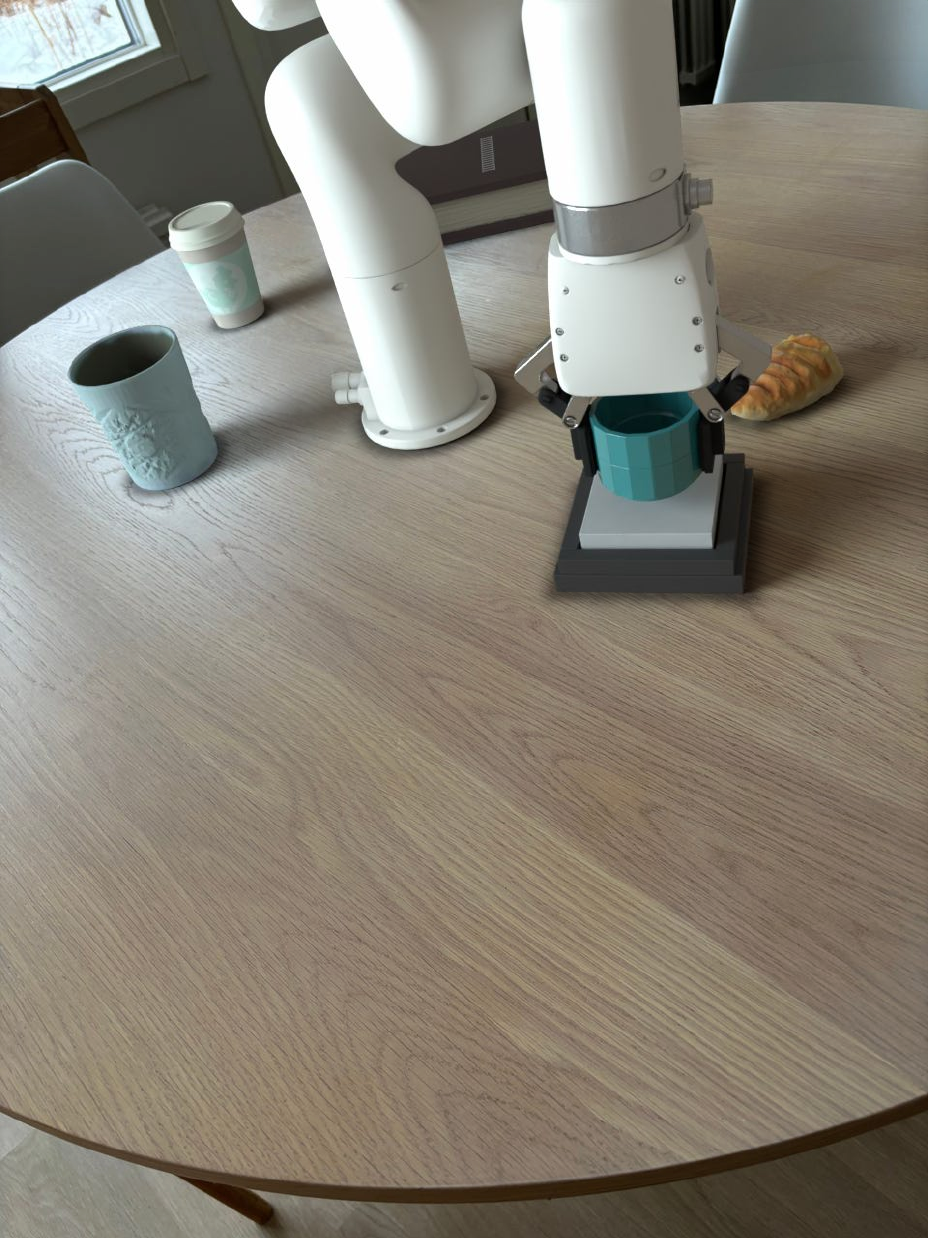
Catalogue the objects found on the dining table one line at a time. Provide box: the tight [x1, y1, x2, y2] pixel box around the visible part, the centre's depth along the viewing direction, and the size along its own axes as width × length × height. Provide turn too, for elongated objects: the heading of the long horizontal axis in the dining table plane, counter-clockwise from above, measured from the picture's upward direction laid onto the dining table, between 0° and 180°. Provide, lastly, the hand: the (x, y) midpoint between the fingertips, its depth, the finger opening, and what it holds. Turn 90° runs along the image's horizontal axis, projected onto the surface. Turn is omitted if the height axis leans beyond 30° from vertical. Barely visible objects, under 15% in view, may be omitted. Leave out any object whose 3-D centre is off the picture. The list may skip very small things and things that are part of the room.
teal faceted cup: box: [588, 392, 702, 502], centre depth 68 cm, size 7×7×6 cm
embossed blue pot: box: [66, 324, 219, 491], centre depth 93 cm, size 10×10×12 cm
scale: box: [552, 452, 754, 595], centre depth 73 cm, size 13×12×3 cm
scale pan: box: [579, 455, 723, 549], centre depth 72 cm, size 9×9×2 cm
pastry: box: [730, 333, 845, 422], centre depth 82 cm, size 9×7×4 cm
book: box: [395, 118, 555, 246], centre depth 125 cm, size 28×20×6 cm
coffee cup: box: [168, 200, 265, 330], centre depth 114 cm, size 8×8×12 cm
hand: (650, 461), depth 70 cm, fingers closed on teal faceted cup, 7 cm apart
